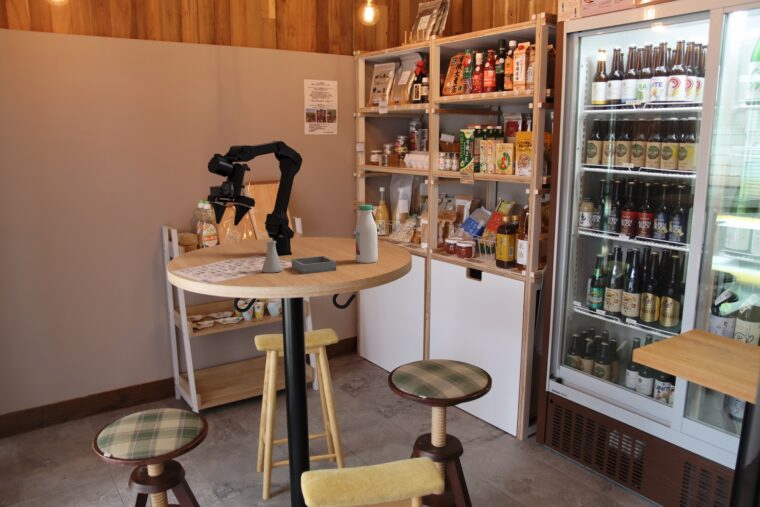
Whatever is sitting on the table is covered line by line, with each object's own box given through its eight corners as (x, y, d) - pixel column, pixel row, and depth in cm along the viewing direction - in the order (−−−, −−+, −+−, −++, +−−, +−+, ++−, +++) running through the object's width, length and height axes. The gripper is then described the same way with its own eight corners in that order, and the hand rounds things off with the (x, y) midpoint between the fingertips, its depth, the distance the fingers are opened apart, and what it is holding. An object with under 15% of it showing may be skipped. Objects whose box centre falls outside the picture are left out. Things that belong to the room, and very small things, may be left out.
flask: (262, 269, 206) (261, 240, 204) (284, 268, 207) (283, 239, 205) (260, 273, 199) (258, 243, 197) (282, 273, 199) (281, 242, 198)
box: (323, 264, 212) (323, 255, 212) (336, 270, 202) (336, 261, 202) (291, 267, 207) (291, 259, 207) (302, 274, 197) (302, 264, 197)
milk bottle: (380, 259, 219) (379, 204, 215) (373, 264, 212) (372, 206, 208) (360, 258, 221) (359, 203, 218) (352, 262, 214) (351, 206, 210)
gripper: (198, 174, 210) (190, 218, 209) (235, 175, 200) (226, 221, 198) (223, 182, 220) (215, 224, 218) (259, 183, 209) (251, 228, 207)
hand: (226, 224), depth 210 cm, fingers open, 9 cm apart
